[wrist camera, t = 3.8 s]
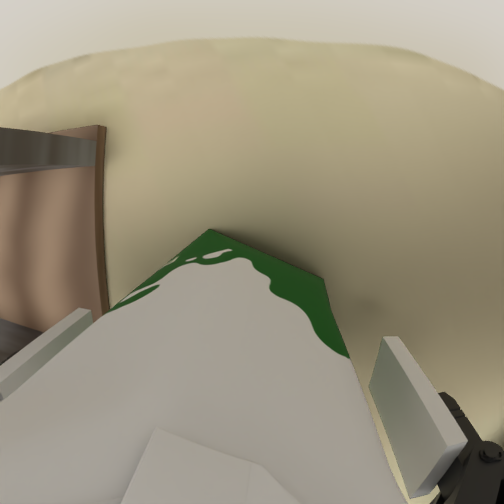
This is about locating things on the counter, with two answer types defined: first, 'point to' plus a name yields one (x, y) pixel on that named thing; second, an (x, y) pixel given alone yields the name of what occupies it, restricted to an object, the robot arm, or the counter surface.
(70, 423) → the soya milk
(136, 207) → the counter surface
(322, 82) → the counter surface
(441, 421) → the robot arm
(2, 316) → the carton caddy
